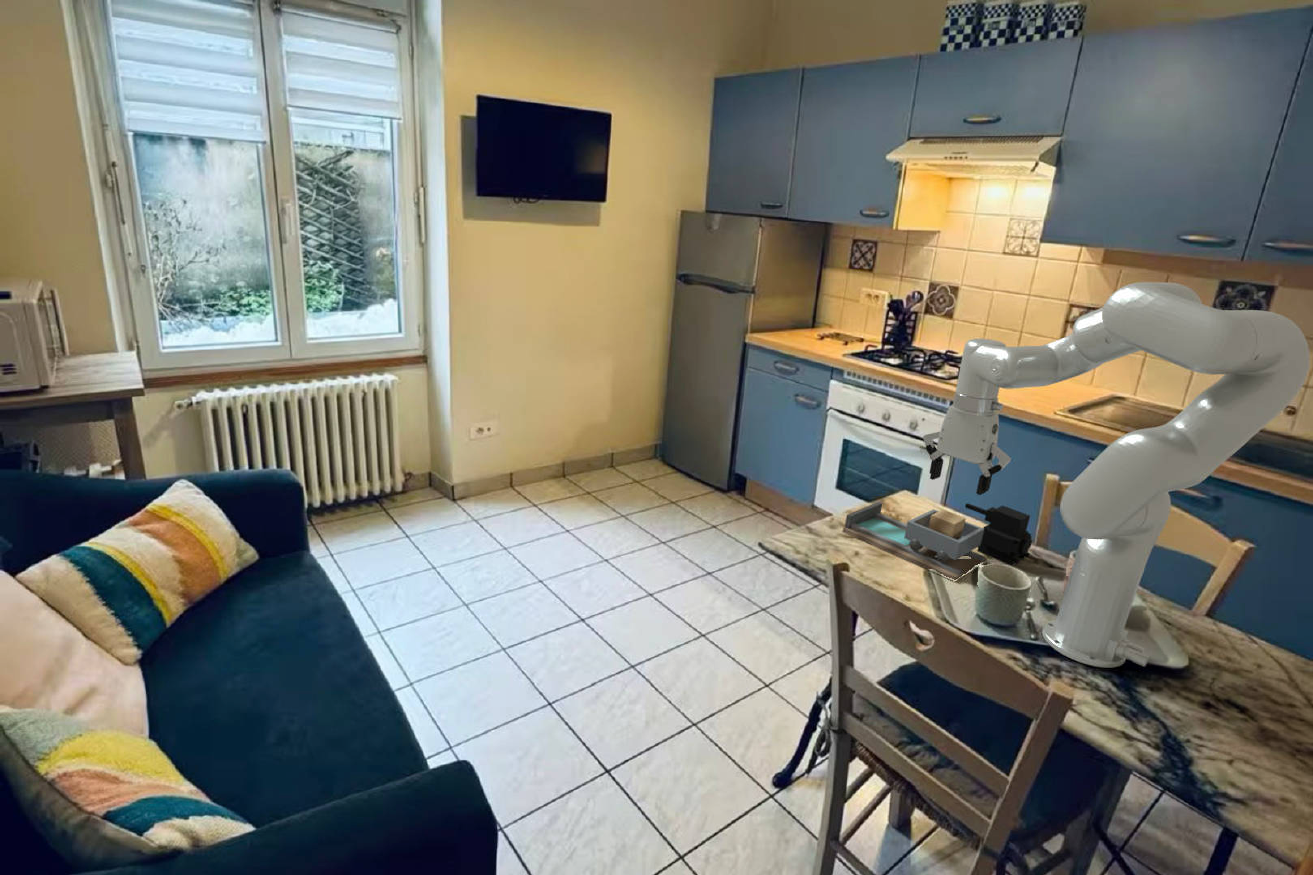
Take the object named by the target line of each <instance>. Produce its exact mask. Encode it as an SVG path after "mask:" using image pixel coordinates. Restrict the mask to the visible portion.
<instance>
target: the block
mask: <svg viewBox="0 0 1313 875" xmlns="http://www.w3.org/2000/svg"><path fill="white" fill-rule="evenodd" d="M938 511H939V512H937V513H935V514H932V515H931V519H930V523H929V529H932V530H934V531H936V532H939V533H941V534H944V535H946V536H949V537H951V538H954V539H956V540H959V539H961V536H962V532H963V528H964V524H965V522H966V517H963V516H961V515H960V514H956V513H953V512H951V511H948V510H945V509H940V510H938Z"/></svg>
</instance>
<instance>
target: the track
mask: <svg viewBox="0 0 1313 875" xmlns="http://www.w3.org/2000/svg"><path fill="white" fill-rule="evenodd" d="M882 508H883V502H880V501H876V502H874V503H872V504H870V505H868V506H864V507H862V508H860V509H857V510H855V511H853V512H850V513H848V514H846V517H845V522H844V527H843V528H842V533H845V534H847V535H849V536H851V537H853V538H855V539H858V540H860V541H862V542H865V543H867V544H869V545H871V546H873V547H875V548H878V549H880V550H882V551H885V552H887V553H888V554H891V555H893V556H896V557H898V558H900V559H902V560H904V561H906V562H908V563H911V564H914V565H915V566H917V567H920V568H922V569H924V570H926V571H928V570H927V569H934V570H936V571H937V572H939V573H940V574H943V575H944V576H946V577H949V578H952V579H954V580H956V579H958V578H959V577H961V576H962V575H963V574H966V573H967V572H968V571H969V570H971V569H972V568H973V567H974V566H975V565H978V564H980V563H981V562H985V561H986V562H987V560H988V558H987V557H986V556H985V555H984V554H981V553H978V552H975V551H973V550H972V551H970V552H968V553H966V554H965V555H963V556H969V557H971V559H956V560H954V559H952V558H951V559H950V560H949V561H947V562H946V563H941V562H940V561H938V559H937V557H935V556H937V553H938V552H936V551H933V550H931V549H929V548H926V547H924V546H923V547H922V549H920V550H918V551H914V550H912V549H911V548H910V545H909V543H910V540H908V539H905V538H904V536H905V531H906V527H907V523H905V522H902V521H900V520H898V519H895V518H892V517H890V516H888V515H885V514H883V513H881V512H882Z"/></svg>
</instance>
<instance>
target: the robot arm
mask: <svg viewBox="0 0 1313 875" xmlns="http://www.w3.org/2000/svg"><path fill="white" fill-rule="evenodd" d="M1141 351H1143V352H1145V353H1147V354H1149V355H1152V356H1154V357H1157V358H1159V359H1162V360H1163V361H1166V362H1169V363H1171V364H1173V365H1176V366H1179V367H1181V368H1184V369H1185V370H1189V371H1191V372H1195V373H1199V374H1204V375H1212V376H1213V375H1223V376H1222V377H1221V378H1220V379H1219V380H1217V381H1216V382H1214V383H1213V384H1211V385H1210V386H1209V387H1208V388H1206V389H1205V390H1204V391H1202V392H1201V393H1199V394H1198V395H1197V396H1195V397H1194V399H1193V400H1192V401H1191V402H1190V403H1189V404H1188V405H1187V406H1186V407H1185V408H1183V410H1181V411H1180V413H1178V414H1177V415H1176V416H1175V417H1174V418H1172V419H1171V420H1170V421H1168V422H1167V423H1165V424H1163V425H1160V426H1159V425H1158V426H1156V427H1154V426H1153V427H1148V428H1142V429H1137V430H1136V429H1135V430H1133V431H1130V432H1127V433H1126V434H1124V435H1122V436H1120V437H1119V438H1117V439H1116V440H1114V441H1112V443H1110V445H1108V446H1107V447H1106V448H1105V449H1104V450H1103V451H1102V452H1101V453H1100V454H1099V455H1097V457H1096V458H1095V459H1094V460H1092V462H1091V463H1090V464H1088V466H1087V467H1086V468H1085V469H1084V470H1083V471H1082V472H1081V473H1080V474H1079V475H1078V476H1077V477H1075V479H1074V480H1073V481H1072V482H1071V483H1070V484H1069V486H1068V487H1067V488H1066V489H1065V491H1064V493H1063V495H1062V497H1061V499H1060V504H1059V505H1060V507H1059V508H1060V517H1061V519H1062V521H1063V523H1064V525H1065V527H1067V529H1068V530H1069V531H1070V532H1071V533H1072V534H1075V535H1076V536H1078V537H1080V538H1081V539H1080V542H1079V545H1078V548H1077V550H1076V555H1075V557H1074V559H1073V560H1074V561H1073V564H1072V567H1071V571H1070V574H1069V577H1068V580H1067V583H1066V584H1067V585H1066V587H1065V591H1064V594H1063V598H1062V599H1061V600H1062V601H1061V603H1060V607H1059V610H1058V614H1057V617H1056V619H1052V620H1049V621H1047V622H1046V623H1045V624H1044V625H1043V628H1042V633H1041V634H1042V636H1043V639H1044V640H1045V642H1046V643H1048V644H1049V646H1050V647H1051V648H1053V649H1054V650H1055V651H1057V652H1059V653H1060V654H1061V655H1063V656H1065V657H1067V658H1070V659H1071V660H1073V661H1076V662H1079V663H1082V664H1085V665H1088V666H1092V667H1098V668H1107V669H1108V668H1116V667H1120V666H1122V665H1123V664H1125V662H1126V660H1130V661H1132V663H1134V664H1137V665H1139V666H1141V667H1146V666H1147V663H1148V661H1149V659H1150V655H1148V654H1146V653H1144V652H1145V647H1142V646H1140V645H1138V644H1135V643H1133V642H1130V640H1129V639H1128V638H1127V636H1128V633H1129V631H1128V630H1126V629H1125V626H1126V625H1127V621H1128V618H1129V615H1130V612H1131V609H1132V606H1133V603H1134V601H1135V597H1136V594H1137V592H1138V588H1139V585H1140V583H1141V581H1142V580H1141V579H1142V577H1143V574H1144V571H1145V569H1146V565H1147V562H1148V561H1149V560H1148V559H1149V557H1150V555H1151V553H1152V551H1153V548H1154V547H1155V544H1156V542H1157V541H1158V538H1159V536H1160V535H1161V533H1162V532H1163V529H1165V527H1166V524H1167V521H1168V520H1169V517H1170V514H1171V507H1172V506H1171V505H1172V502H1171V497H1170V494H1169V492H1174V491H1179V490H1183V489H1188V488H1192V487H1195V486H1197V485H1199V484H1200V483H1202V482H1203V481H1204V480H1206V479H1207V478H1208V477H1210V475H1211V474H1212V473H1213V472H1215V470H1216V469H1217V468H1219V467H1220V466H1221V465H1222V464H1224V463H1225V462H1226V461H1227V460H1228V459H1229V458H1230V457H1232V456H1233V455H1234V454H1235V453H1237V451H1239V450H1240V449H1241V448H1242V447H1243V446H1244V445H1246V443H1248V442H1249V441H1250V440H1251V439H1252V438H1253V437H1254V436H1255V435H1256V434H1258V433H1259V432H1260V431H1261V430H1262V429H1263V428H1264V427H1266V426H1267V425H1269V423H1270V422H1272V421H1273V420H1274V419H1275V418H1276V417H1277V416H1279V414H1281V413H1282V412H1283V410H1285V409H1286V408H1287V407H1288V406H1289V405H1290V404H1291V403H1292V401H1293V400H1294V399H1295V398H1296V396H1297V395H1298V394H1299V392H1300V390H1301V389H1302V387H1303V385H1304V383H1305V381H1306V380H1307V376H1308V374H1309V370H1310V369H1309V368H1310V361H1311V360H1310V349H1309V345H1308V342H1307V340H1306V337H1305V335H1304V333H1303V331H1302V329H1300V327H1298V325H1297V324H1296V323H1295V322H1294V321H1292V320H1291V319H1290V318H1288V317H1286V316H1284V315H1282V314H1279V313H1276V312H1274V311H1268V310H1267V311H1266V310H1256V309H1242V310H1241V309H1240V310H1239V309H1237V310H1233V309H1231V310H1229V309H1228V310H1227V309H1226V310H1225V309H1224V310H1222V309H1219V308H1215V307H1212V306H1208V305H1206V304H1203V303H1202V300H1201V299H1200V296H1199V295H1198V294H1197V292H1195V290H1193V289H1192V288H1190V287H1188V286H1187V285H1183V284H1180V283H1175V282H1155V281H1154V282H1153V281H1142V282H1141V281H1138V282H1132V283H1130V284H1127V285H1124V286H1122V287H1120V288H1118V289H1117V290H1115V291H1114V292H1113V293H1112V294H1111V295H1110V296H1109V297H1108V298H1107V300H1106V301H1105V303H1104V305H1103V307H1101V308H1097V309H1094V310H1093V311H1090V312H1087V313H1085V314H1082V315H1081V316H1080V317H1078V318H1077V319H1076V321H1075V322H1074V324H1073V326H1072V333H1071V334H1069V335H1066V336H1065V337H1063V338H1059V339H1056V340H1054V341H1052V342H1049V343H1046V344H1041V345H1024V346H1022V345H1021V346H1007V345H1006V344H1005V343H1004V342H1001V341H998V340H995V339H988V338H971V339H969V340H967V341H966V342H965V344H964V348H963V352H962V358H961V362H960V368H959V371H958V372H959V373H958V377H957V383H956V388H955V393H954V398H953V403H952V405H949V407H948V409H947V411H946V413H945V416H944V419H943V421H942V424H941V426H940V430H939V431H936V432H932V433H927V434H924V435H923V442H924V446H925V450H926V452H927V453H928V455H929V459H930V460H931V461H930V462H931V464H930V469H929V474H930V476H929V479H930V480H936V479H938V478H941V475H942V471H943V470H942V469H943V464H944V459H943V458H942V457H944V456H947V457H951V458H953V459H957V460H961V461H964V462H968V463H970V464H975V465H978V467H979V468H980V471H981V472H982V474H981V475H980V476H979V480H978V483H977V487H976V494H977V495H978V496H981V495H983V494H985V493H986V492H989V490H990V487H991V483H992V479H993V478H992V477H993V475H995V474H997V473H998V472H1001V471H1002V470H1004V469H1005V467H1006V466H1007V465H1008V464H1010V462H1011V457H1010V456H1009V455H1008V454H1007V453H1006V452H1005V451H1003V450H1002V449H1001V448H1000V447H999V446H998V438H999V425H1000V424H999V422H1000V418H999V413H996V411H1000V412H1001V411H1003V409H1004V404H1003V403H1000V402H999V397H998V396H999V390H1000V388H1001V389H1006V390H1007V389H1008V390H1011V389H1022V388H1023V389H1024V388H1025V389H1026V388H1038V387H1039V388H1040V387H1046V386H1051V385H1055V384H1057V383H1061V382H1064V381H1066V380H1069V379H1073V378H1075V377H1079V376H1081V375H1083V374H1087V373H1088V372H1091V371H1093V370H1094V369H1097V368H1099V367H1100V366H1102V364H1103V365H1104V364H1105V363H1110V361H1111V362H1112V361H1114V360H1116V359H1119V358H1123V357H1127V356H1128V355H1131V354H1135V353H1137V352H1141ZM934 440H937V446H936V445H935V444H934ZM995 457H996V458H997V459H998V462H997V463H996V465H993V463H992V461H993V460H994V459H995Z"/></svg>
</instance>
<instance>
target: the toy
mask: <svg viewBox="0 0 1313 875" xmlns="http://www.w3.org/2000/svg"><path fill="white" fill-rule="evenodd" d="M964 507H965V509H968V510H971V511H974V512H977V513H979V514H981V515H984V521H986V522H988V523H989V524H987V525H984V526H983V527H982V528H984V533H983V537H982V541H981V545H980V546H978V547H977V553H978V552H979V554H982V555H984V556H985V555H986V556H988V557H990V558H992V559H995V560H998V561H1000V562H1002V563H1004V564H1007V565H1009V564H1010V565H1009V566H1011V565H1013V566H1014V565H1018V564H1020V560H1024V559H1025V558H1026V559H1028V558H1029V557H1030V555H1031V553H1030V552H1029V549H1030V548H1031V547H1032V544H1033V540H1032V536H1031V535H1032V534H1031V533H1029V531H1028V530H1027V528H1028V525H1029V521H1030V517H1031V515H1029V514H1027V513H1024V512H1021V511H1018V510H1016V509H1013V508H1010V507H1008V506H1004V505H1001V506H999V507H997V508H996V507H993V506H992V507H990V508H988V509H985V508H982V507H979V506H976V505H974V504H971V503H969V502H968V503H965V506H964Z"/></svg>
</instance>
